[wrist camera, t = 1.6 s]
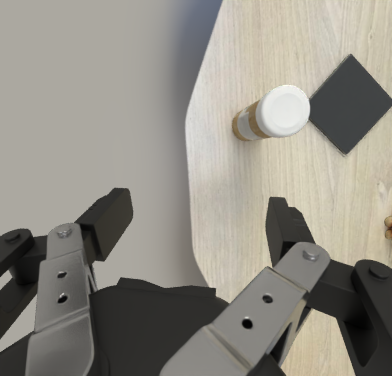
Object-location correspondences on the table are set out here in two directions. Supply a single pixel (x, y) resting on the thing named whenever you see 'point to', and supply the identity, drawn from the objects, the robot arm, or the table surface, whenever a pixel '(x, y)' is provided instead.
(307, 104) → the sprinkles bottle
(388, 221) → the grandmother figurine
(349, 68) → the slate coaster
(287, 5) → the table surface
